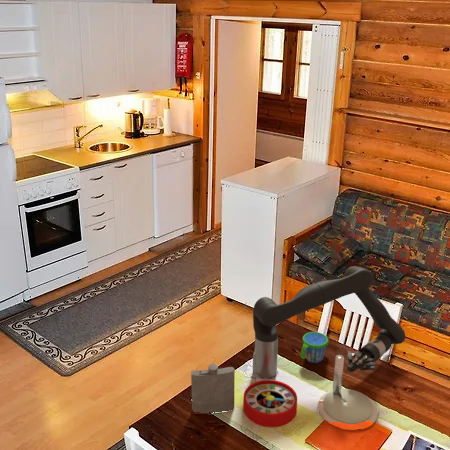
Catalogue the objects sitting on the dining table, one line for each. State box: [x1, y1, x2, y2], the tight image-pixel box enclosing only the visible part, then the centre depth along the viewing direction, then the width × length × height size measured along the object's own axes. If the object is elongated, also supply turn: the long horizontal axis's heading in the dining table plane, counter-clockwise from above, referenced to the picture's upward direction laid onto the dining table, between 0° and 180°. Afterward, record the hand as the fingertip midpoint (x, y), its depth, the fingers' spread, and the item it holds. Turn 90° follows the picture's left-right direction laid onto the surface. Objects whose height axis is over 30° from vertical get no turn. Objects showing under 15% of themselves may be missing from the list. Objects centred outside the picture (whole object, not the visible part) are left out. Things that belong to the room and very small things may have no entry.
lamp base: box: [317, 389, 379, 423], centre depth 214 cm, size 22×22×1 cm
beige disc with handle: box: [323, 354, 373, 424], centre depth 210 cm, size 18×18×17 cm
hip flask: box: [190, 363, 236, 413], centre depth 210 cm, size 16×4×20 cm, turn 99°
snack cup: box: [299, 331, 330, 364], centre depth 243 cm, size 16×10×10 cm
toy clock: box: [242, 379, 298, 428], centre depth 214 cm, size 20×6×20 cm
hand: (349, 369), depth 222 cm, fingers closed
